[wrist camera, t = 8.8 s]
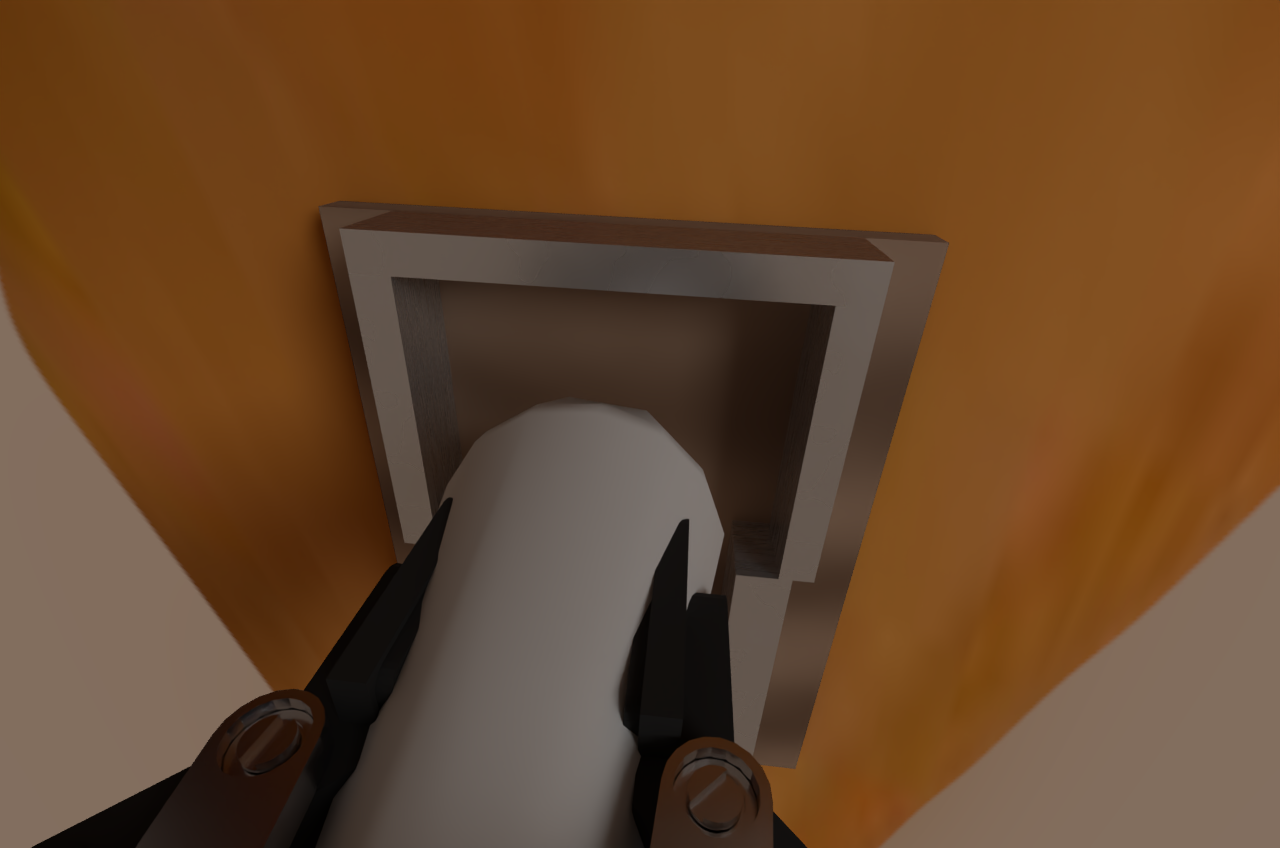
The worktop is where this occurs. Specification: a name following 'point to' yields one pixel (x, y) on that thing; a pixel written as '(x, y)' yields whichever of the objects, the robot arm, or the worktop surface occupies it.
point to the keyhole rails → (642, 263)
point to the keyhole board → (679, 401)
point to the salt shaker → (531, 640)
